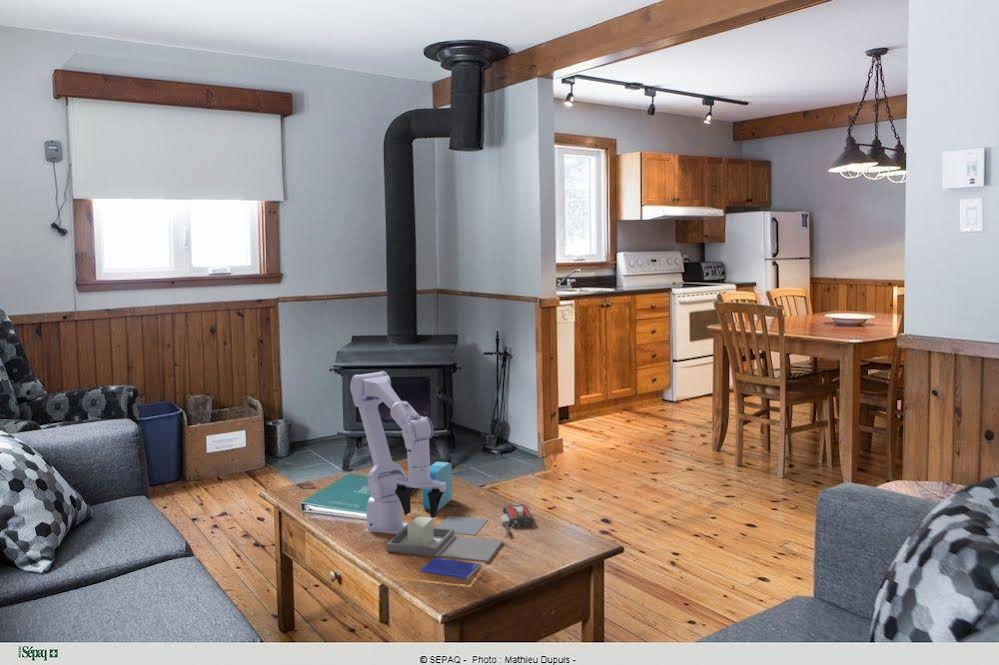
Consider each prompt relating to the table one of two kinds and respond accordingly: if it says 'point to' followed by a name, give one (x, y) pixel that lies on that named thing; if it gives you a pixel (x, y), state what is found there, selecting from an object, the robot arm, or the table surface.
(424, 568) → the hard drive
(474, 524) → the slate mat
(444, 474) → the blue block
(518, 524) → the walkie-talkie
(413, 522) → the block
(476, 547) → the equipment case
